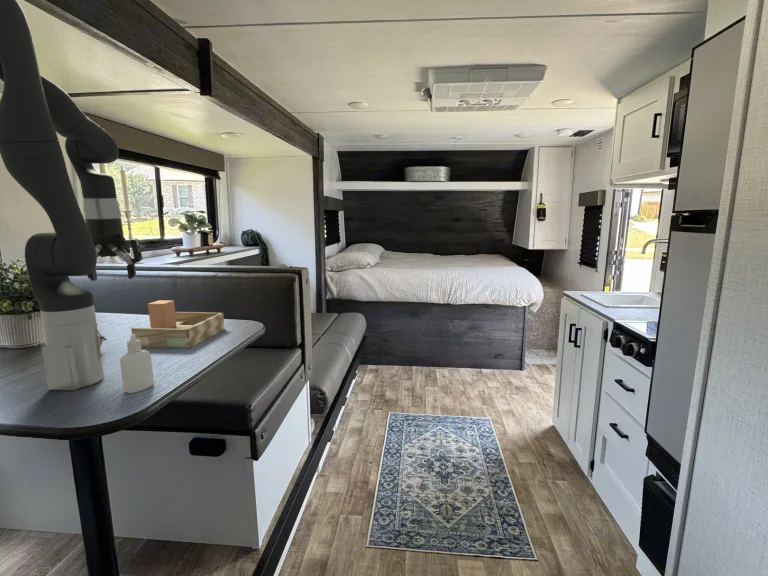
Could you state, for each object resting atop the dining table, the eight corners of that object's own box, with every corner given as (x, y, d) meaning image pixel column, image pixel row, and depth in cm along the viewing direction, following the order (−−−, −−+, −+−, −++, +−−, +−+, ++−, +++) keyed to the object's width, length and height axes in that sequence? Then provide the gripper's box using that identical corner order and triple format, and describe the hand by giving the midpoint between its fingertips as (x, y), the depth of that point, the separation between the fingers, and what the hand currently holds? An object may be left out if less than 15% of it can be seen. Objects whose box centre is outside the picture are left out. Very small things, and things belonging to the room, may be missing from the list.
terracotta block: (166, 330, 120) (163, 304, 119) (150, 329, 121) (147, 303, 119) (176, 325, 125) (173, 300, 124) (161, 325, 126) (158, 300, 124)
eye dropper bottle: (124, 387, 87) (117, 334, 85) (154, 382, 90) (147, 330, 87) (123, 395, 83) (116, 339, 81) (154, 389, 86) (148, 335, 84)
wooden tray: (189, 348, 112) (187, 329, 111) (133, 347, 114) (131, 328, 113) (224, 329, 132) (223, 312, 131) (176, 327, 134) (174, 311, 133)
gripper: (63, 218, 96) (75, 284, 100) (130, 217, 100) (139, 280, 104) (76, 216, 103) (87, 278, 107) (139, 215, 107) (147, 275, 111)
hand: (113, 279), depth 105 cm, fingers open, 8 cm apart
